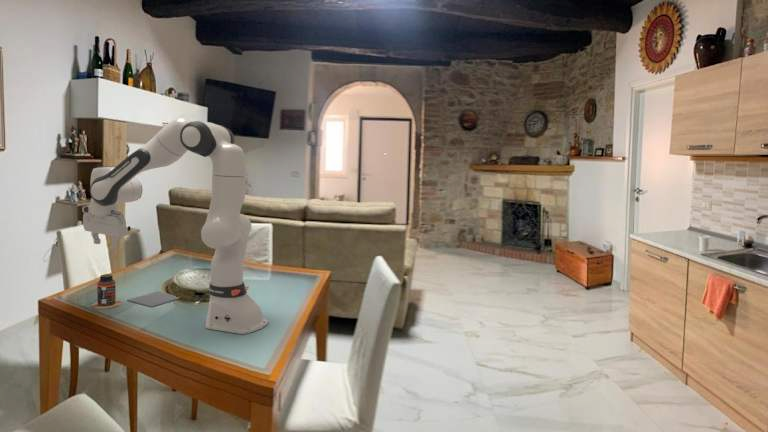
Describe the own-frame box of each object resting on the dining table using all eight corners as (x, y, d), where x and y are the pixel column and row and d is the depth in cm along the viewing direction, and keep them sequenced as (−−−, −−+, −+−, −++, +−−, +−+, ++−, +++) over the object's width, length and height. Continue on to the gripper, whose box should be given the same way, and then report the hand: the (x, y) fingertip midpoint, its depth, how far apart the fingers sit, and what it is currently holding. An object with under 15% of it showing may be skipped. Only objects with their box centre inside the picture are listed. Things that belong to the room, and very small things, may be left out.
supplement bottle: (107, 307, 172) (106, 278, 170) (93, 305, 173) (93, 276, 171) (119, 302, 177) (118, 274, 176) (106, 300, 179) (105, 272, 177)
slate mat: (181, 298, 187) (181, 297, 187) (151, 307, 175) (151, 306, 175) (157, 292, 193) (157, 291, 193) (127, 301, 181) (127, 299, 181)
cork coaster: (127, 303, 178) (127, 302, 178) (102, 310, 169) (102, 310, 169) (110, 299, 182) (110, 298, 182) (85, 305, 173) (85, 305, 173)
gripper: (131, 211, 169) (131, 248, 171) (95, 206, 177) (96, 240, 179) (115, 213, 163) (115, 250, 165) (79, 207, 172) (80, 243, 174)
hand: (105, 245), depth 172 cm, fingers open, 8 cm apart
